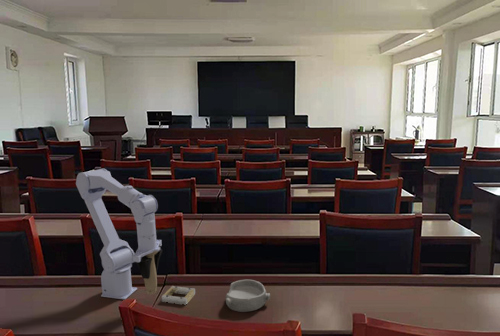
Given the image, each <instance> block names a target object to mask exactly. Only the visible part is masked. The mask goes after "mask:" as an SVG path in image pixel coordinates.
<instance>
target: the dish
mask: <svg viewBox="0 0 500 336" xmlns="http://www.w3.org/2000/svg"><path fill="white" fill-rule="evenodd" d="M270 299H271V293H270V292H268V293H267V290H266V288H265V285H263V283H261V282H260V281H257V280H254V279H239V280H236V281H233V282H231V283H230V285H229V290H228V292H227V293H226V295H225V304H226V305H227V308H229V309H230V310H232V311H235V312H241V313H247V312H253V311H257V310H258V309H261V308H262V307H263V306H265V304H266V303H267V302H266V301H269V300H270Z"/></svg>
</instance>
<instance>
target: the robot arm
mask: <svg viewBox="0 0 500 336" xmlns="http://www.w3.org/2000/svg"><path fill="white" fill-rule="evenodd" d="M75 185H76V188H77V190H78V192H79V194H80V197H81V198H82V199H83V200H84V203H85V205H86V208H87V209H88V211H89V213H90V216H91V219H92V221H93V224H94V226H95V227H96V230H97V232H98V235H99V237H100V239H101V242H102V243H103V247H102V249H101V251H100V252H99V256H100V259H101V266H102V268H103V271H102V273H101V276H100V283H101V293H102V294H101V295H100V296H101V297H102V298H110V299H118V300H126V299H128V298H129V297H131V295H133V294H134V292H136V290H138V287H135V286H134V287H133V285H132V284H133V283H132V273H131V271H132V269H131V268H132V267H133V263H135V264H136V266H137V268H138V270H139V271H140V274H141V278H142V279H144V278H145V279H149V277H150V265H151V261H152V258H148V257H147V256H146V255H148V254H150V253H152V252H154V251H158V252H157V253H156V254H155V255H154V261H155V268H156V273H157V272H158V268H159V263H160V258H161V256H162V254H163V249H162V248H161V247H162V239H157V229H156V216H155V213H156V212H157V211H158V209H159V204H158V203H159V202H158V200H157V199H156V198H155V196H154V195H152V194H148V195H146V194H144V193H142V192H140V191H138V190H137V189H136V188H134V187H133V186H132V185H125V186H124V185H122V183H121V182H119V181H118V180H117V179H115V178H114V177H112V175H111V171H109V170H107V169H106V168H99V169H95V170H89V171H84V172H83V171H82V172H78V174H77V176H76V181H75ZM106 191H109V192H110V193H112V194H114V195H116V196H117V200H118V201H119V202H120V203H122V204H123V205H125V206H127V207H128V208H129V209H130V210H131V213H132V215H133V219H134V222H135V223H136V224H135V225H136V233H137V234H136V236H137V245H138V247H137V249H136V251H135V252H134V250H133V248H131V246H130V245H129V243H128V241H125V240H122V239H121V238H120V237H119V235H118V232H117V231H116V229H115V226H114V223H113V222H112V220H111V218H110V215H109V213H108V210H107V209H106V206H105V203H104V201H103V199H102V197H103V195H104V194H105V193H106Z"/></svg>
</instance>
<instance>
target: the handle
mask: <svg viewBox="0 0 500 336" xmlns="http://www.w3.org/2000/svg"><path fill="white" fill-rule="evenodd" d="M157 252H158V251H154V252H152V253H150V254H148V255H146V256H147V257H148V258H152V261H151V265H150V277H149V279H145V278H143V281H144V286H145V289H146V290H145V292H146V294H147V295H149V296H151V295H155V294H156V293H157V292H158V279H157V277H158V275H157V272H156V268H155V261H154V255H155V254H156V253H157Z"/></svg>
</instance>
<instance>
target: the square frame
mask: <svg viewBox="0 0 500 336" xmlns="http://www.w3.org/2000/svg"><path fill="white" fill-rule="evenodd" d="M174 294H179V295H185V296H175V295H174ZM173 295H174V296H173ZM195 295H196V288H195V287H192V288H191V287H185V286H178V285H177V286H176V285H175V286H174V285H171V286H170V288H169V289H167V290H166V292H165V293H163V294H162V295H161V302H162V303H166V302H168V303H167V304H174V303H175V305H182V304H184V305H185V306H187V305H188V303H189V302H190V301H191V300H192V299H193V298H194V297H195ZM186 304H187V305H186Z"/></svg>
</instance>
